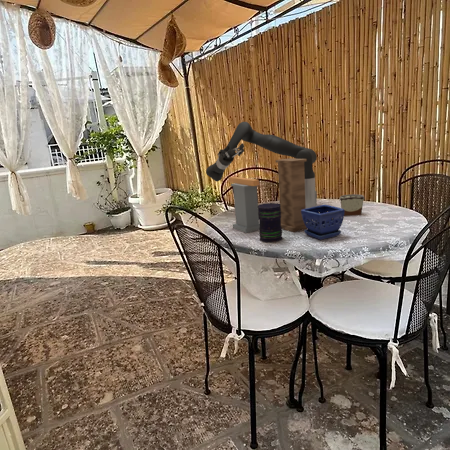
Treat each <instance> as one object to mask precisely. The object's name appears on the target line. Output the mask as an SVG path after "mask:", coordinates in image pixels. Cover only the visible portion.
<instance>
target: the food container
mask: <svg viewBox="0 0 450 450" xmlns="http://www.w3.org/2000/svg"><path fill="white" fill-rule="evenodd" d="M364 200H365V195H363V194H356V193H355V194H354V193H352V194H343V195H340V197H339V199H338V201H339V202H340V208H342V209H344V217H354V216H356V217H357V216H358V217H359V216H362V215H363V207H364Z"/></svg>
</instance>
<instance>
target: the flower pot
mask: <svg viewBox="0 0 450 450" xmlns="http://www.w3.org/2000/svg"><path fill="white" fill-rule="evenodd" d="M301 214H302V218H303V221H304V224H305V226H306V228H307V229H304V230H303V231H304V234H306V235H307V236H310V237H311V238H315V239H317V240H320V241H321V240H325V239H330V238H333V237H337V236H339V235H340V234H342V230H340V228H341V226H342V224H343V221H344V219H345V216H344V209H342V208H341V207H338V206H333V205H328V204H321V205H317V206H315V207H311V208H306V209H303V210H301Z"/></svg>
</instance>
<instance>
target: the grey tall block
mask: <svg viewBox="0 0 450 450" xmlns="http://www.w3.org/2000/svg"><path fill="white" fill-rule="evenodd" d="M259 186H260V184H259V185H258V186H249V185H243V184H236V183H231V184H230V187H232V189H233V201H234V203H233V204H234V212H235V213H234V215H235V223H233V224H232V229H234V230H237V231H240V232H242V233H245V234H247V233H250V232H251V233H252V232H255V231H259V227H260V224H259V218H258V205H259V201H258V187H259Z"/></svg>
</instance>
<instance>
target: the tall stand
mask: <svg viewBox="0 0 450 450" xmlns="http://www.w3.org/2000/svg"><path fill="white" fill-rule="evenodd" d="M305 161H307V159H296V158H294V157H291V158H289V157H288V158H284V159H283V158H281V159H275V164H276V163H277V172H278V173H277V174H278V177H277V178H278V194H279V195H278V196H279V204H280V205H281V207H280V208H281V226H282V230H284V231H288V232H289V233H290V232H291V233H297V232H299V231H300V232H301V231H304V230H308V229H307V228H306V226H305V224H304V221H303V218H302V214H301V210H303V209H306V206H305V172H304V162H305Z"/></svg>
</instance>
